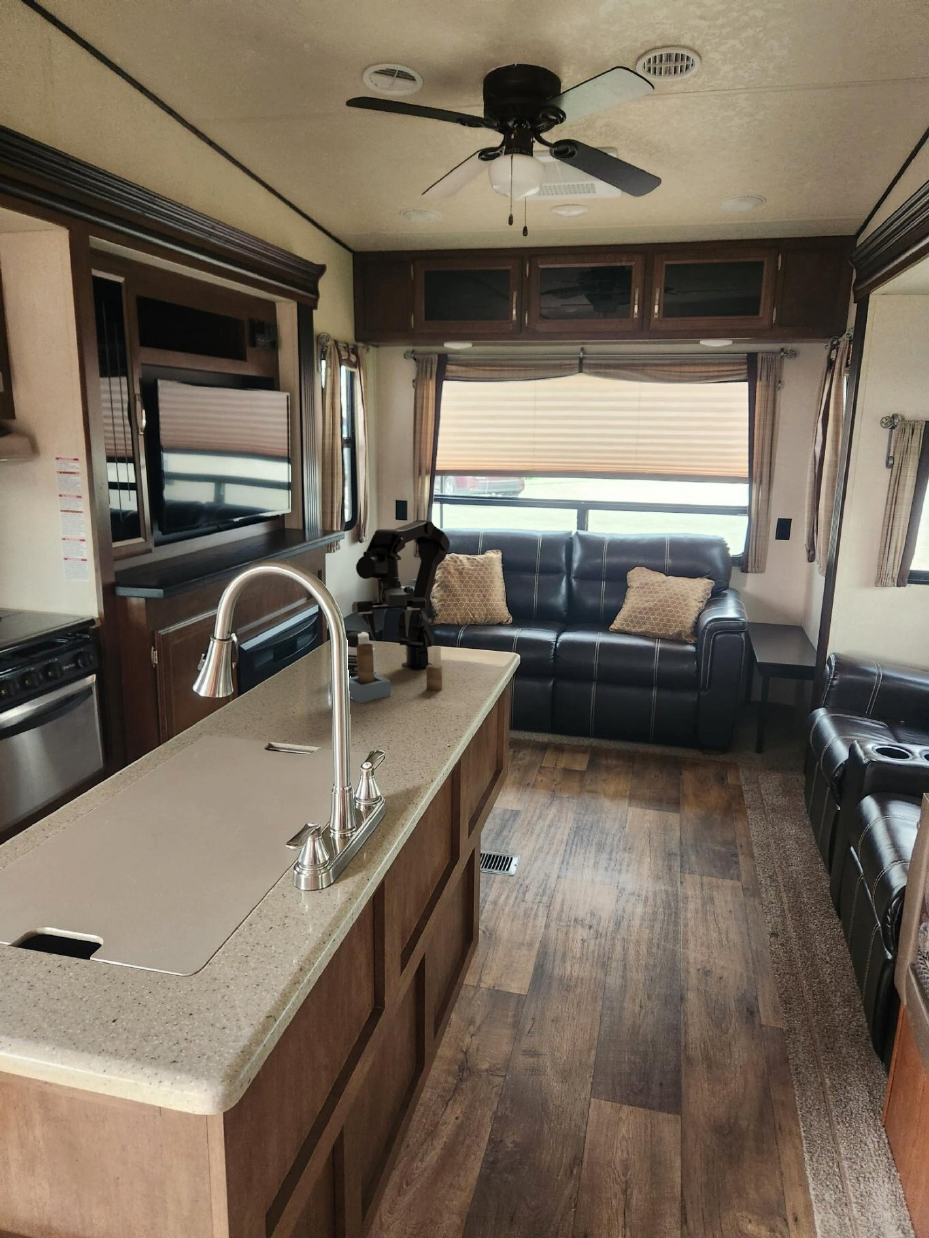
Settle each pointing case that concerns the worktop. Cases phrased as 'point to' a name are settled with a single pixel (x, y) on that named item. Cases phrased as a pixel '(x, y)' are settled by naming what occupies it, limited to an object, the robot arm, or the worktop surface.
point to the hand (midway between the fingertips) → (391, 638)
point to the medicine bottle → (353, 641)
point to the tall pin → (365, 663)
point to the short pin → (434, 677)
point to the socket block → (369, 689)
